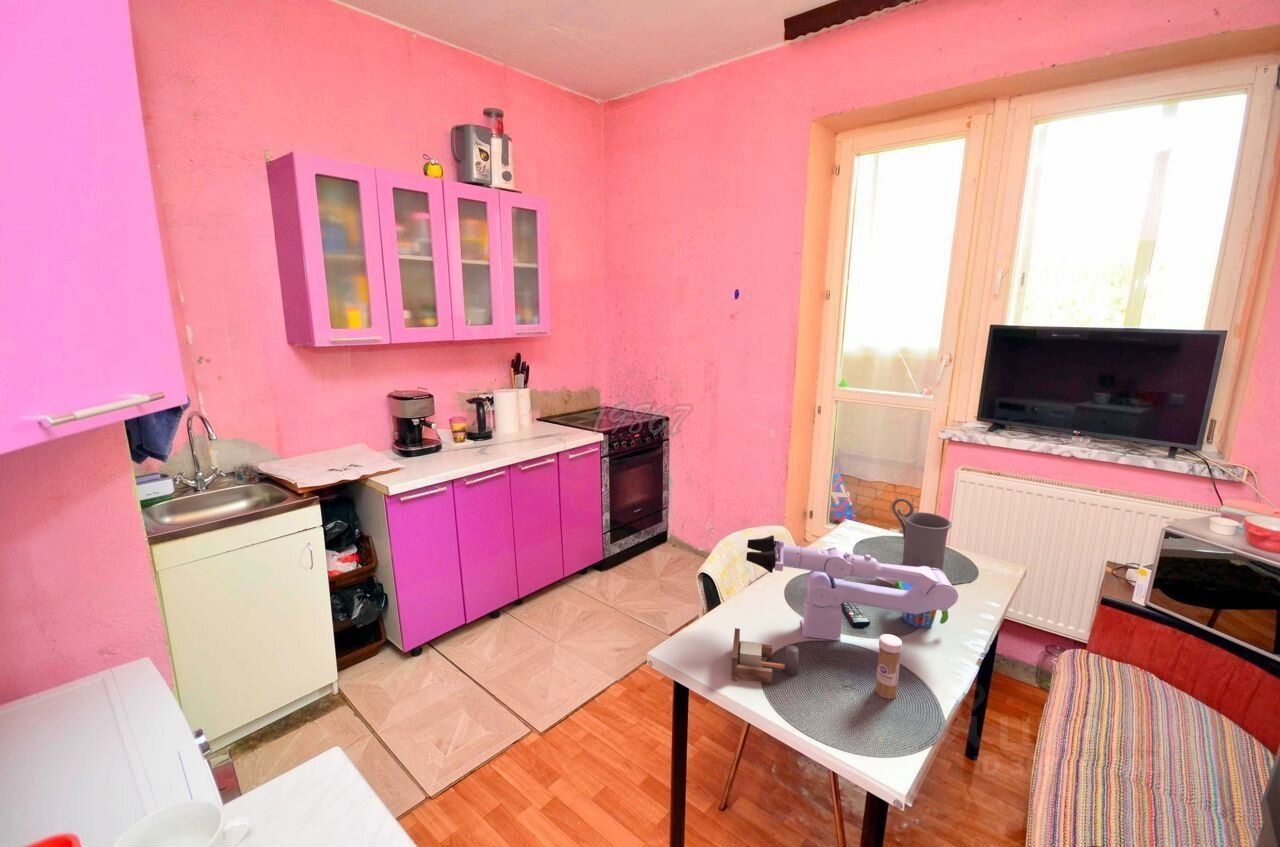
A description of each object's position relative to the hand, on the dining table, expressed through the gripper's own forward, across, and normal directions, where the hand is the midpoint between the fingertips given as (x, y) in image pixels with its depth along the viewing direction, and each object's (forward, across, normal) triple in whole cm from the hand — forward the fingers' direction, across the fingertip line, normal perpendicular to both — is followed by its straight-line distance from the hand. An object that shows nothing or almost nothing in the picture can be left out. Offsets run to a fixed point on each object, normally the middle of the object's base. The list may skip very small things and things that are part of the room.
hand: (747, 549), depth 144 cm
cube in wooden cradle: (-5, +19, +21) cm, 29 cm away
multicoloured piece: (-8, +19, +21) cm, 29 cm away
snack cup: (-48, -10, +18) cm, 52 cm away
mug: (-55, -38, +18) cm, 69 cm away
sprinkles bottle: (-34, +22, +19) cm, 45 cm away
